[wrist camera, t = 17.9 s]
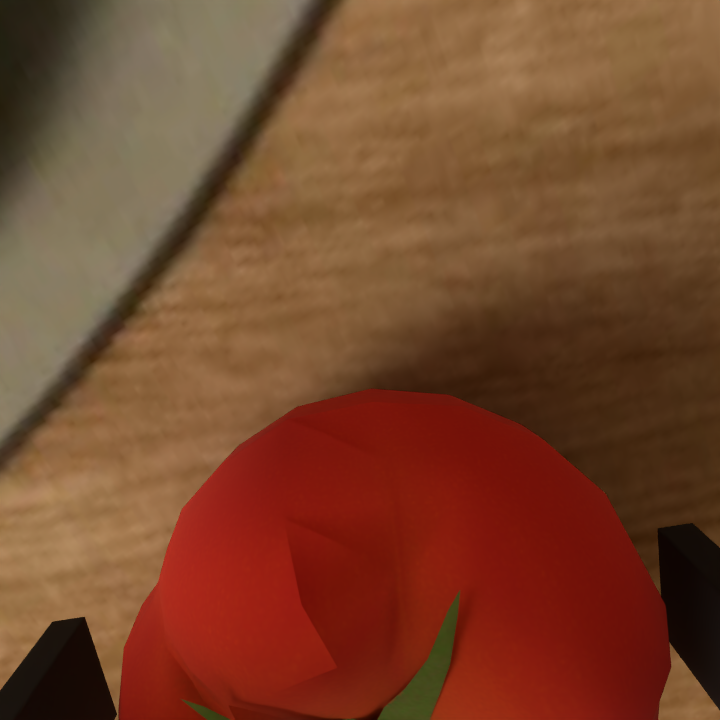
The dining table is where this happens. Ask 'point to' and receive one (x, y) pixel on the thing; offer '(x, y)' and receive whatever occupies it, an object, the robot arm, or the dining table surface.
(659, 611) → the tomato
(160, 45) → the dining table surface
